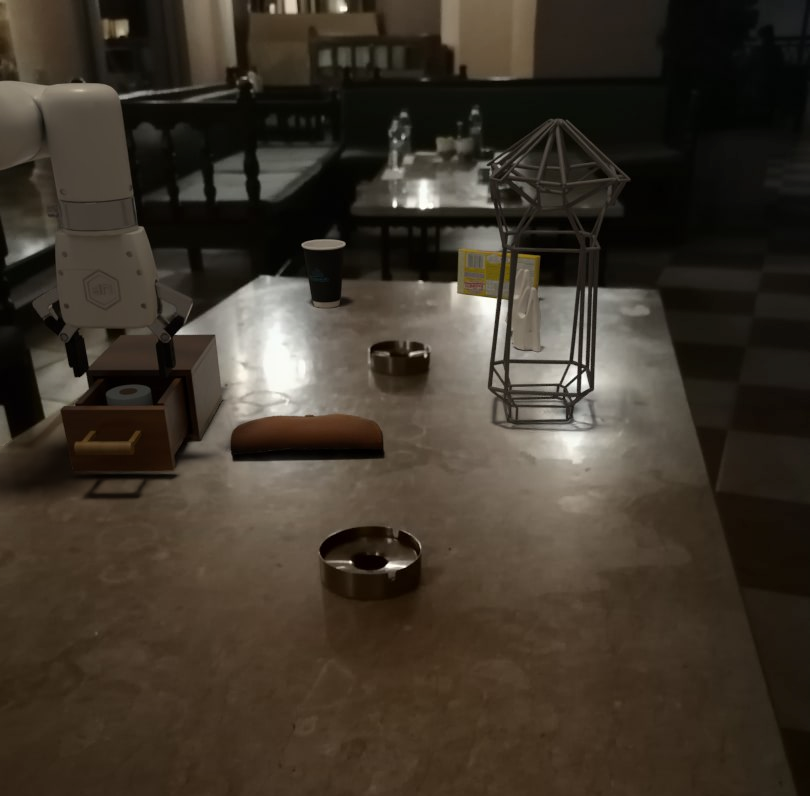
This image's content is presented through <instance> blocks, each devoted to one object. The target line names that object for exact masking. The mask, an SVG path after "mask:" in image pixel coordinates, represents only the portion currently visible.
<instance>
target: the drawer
mask: <svg viewBox="0 0 810 796" xmlns="http://www.w3.org/2000/svg"><path fill="white" fill-rule="evenodd" d="M124 385H144V386H147V387H149V388H150V389H151V395H152V401H153V406H108V404H107V399H106V393H107V391H109V390H110V389H113V388H115V387H119V386H124ZM60 415H61V420H62V425H63V429H64V435H65V440H66V444H67V449H68V450H67V451H68V454H69V460H70V464H71V469H72V471H73V472H119V471H120V472H121V471H122V472H125V471H126V472H127V471H128V472H129V471H130V472H131V471H133V472H134V471H135V472H136V471H137V472H138V471H140V472H143V471H145V472H146V471H147V472H149V471H151V472H153V471H154V472H155V471H156V472H157V471H159V472H161V471H163V472H166V471H167V472H168V471H171V472H172V471H175V468H176V467H177V464H176V459H175V458H176V457H175V455H176V454H177V452H178V450H179V448H180V447H181V445H182V443H183V442H184V441H183V440H184V438H185V436H186V435H187V433H188V431H189V430H190V428H191V426H192V423H191V416H190V408H189V401H188V393H187V386H186V378H185V376H168V377H167V378H162V377H161V376H101V377H100V378H99V379H98V380H97V381H96V382H95V383H94V384H93V385H92V386H91V387H90V388H89V387H88V389H87V390H86V391H85V393H83V394H82V395H81V396H80V397H79V398H78V400H76V401H75V403H74V405H64V406H62V407H61V408H60Z"/></svg>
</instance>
